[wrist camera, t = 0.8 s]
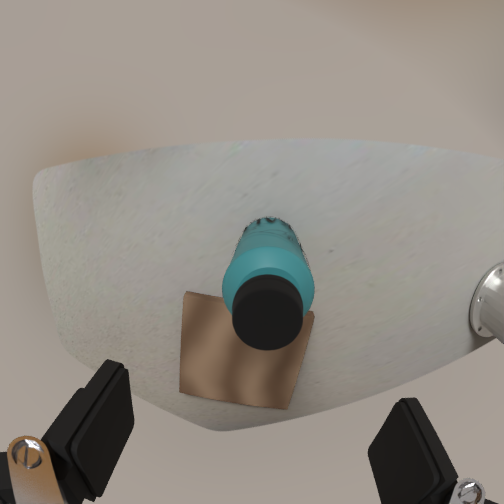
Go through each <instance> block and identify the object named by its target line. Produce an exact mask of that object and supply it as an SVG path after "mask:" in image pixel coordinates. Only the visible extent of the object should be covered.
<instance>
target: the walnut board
mask: <svg viewBox="0 0 504 504" xmlns="http://www.w3.org/2000/svg"><path fill="white" fill-rule="evenodd" d="M313 321H314V313H313V311H308V312H307V313H306V315H305V316H304V317H303V325H302V328H301V330H300V333H299V334H298V336H297V337H296V338H295V340H294V341H293V342H291V343H290V344H289V345H287V346H285V347H283V348H280V349H277V350H271V351H264V350H258V349H255V348H252V347H250V346H248V345H247V344H245V343H244V342H243V341H242V340H241V339H240V338H239V337H238V336H237V334H236V333H235V330H234V328H233V324H232V315H231V313H230V312H229V310H228V309H227V307H226V305H225V302H224V299H223V298H221V297H216V296H210V295H204V294H199V293H193V292H188V291H187V292H186V293H185V295H184V298H183V314H182V332H181V354H180V388H179V392H180V393H185V394H189V395H194V396H199V397H204V398H209V399H215V400H220V401H226V402H232V403H239V404H246V405H253V406H260V407H269V408H278V409H288V406H289V403H290V399H291V396H292V393H293V390H294V387H295V384H296V380H297V377H298V374H299V371H300V367H301V364H302V360H303V357H304V354H305V350H306V347H307V343H308V339H309V336H310V332H311V328H312V325H313Z"/></svg>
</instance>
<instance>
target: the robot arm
mask: <svg viewBox="0 0 504 504" xmlns="http://www.w3.org/2000/svg"><path fill="white" fill-rule="evenodd" d="M470 322H471V326H472V328H473V330H474V331H475V332H476V333H477V334H478V335H480V336H482V337H491V336H495V337H496V338H497V339H498V340H500V341H501V342H502V343H503V344H504V263H500V264H498V265H496V266H495V267H493V268H492V269H491V270H490V271H489V272H488V273H487V274H486V275H485V276H484V277H483V279H482V281H481V282H480V284H479V285H478V287H477V289H476V291H475V294H474V297H473V300H472V303H471V309H470ZM133 426H134V414H133V407H132V399H131V391H130V382H129V372H128V369H125V368H124V365H123V364H122V363H119V362H115V361H112V360H109V359H107V360H106V361H105V362H104V363H103V364H102V365H101V367H100V368H99V369H98V371H97V372H96V373H95V375H94V376H93V377H92V379H91V380H90V381H89V383H88V384H87V385H86V387H85V388H80V389H78V390H77V391H76V393H75V394H74V395H73V396H72V398H71V399H70V400H69V402H68V403H67V404H66V406H65V407H64V408H63V410H62V411H61V413H60V414H59V415H58V417H57V418H56V419H55V421H54V422H53V423H52V425H51V426H50V428H49V429H48V430H47V432H46V433H45V435H44V436H43V437H42V439H41V440H39V439H38V438H35V437H32V436H21V437H18V438H16V439H14V440H13V441H12V442H11V443H10V444H9V447H8V449H7V452H0V504H82V502H83V500H84V498H85V499H88V500H90V501H92V502H94V501H95V499H96V497H101V496H102V494H103V493H104V490H105V488H106V486H107V484H108V481H109V479H110V477H111V475H112V473H113V470H114V468H115V466H116V464H117V461H118V459H119V457H120V455H121V453H122V451H123V449H124V446H125V444H126V442H127V440H128V438H129V436H130V434H131V432H132V429H133ZM368 457H369V461H370V464H371V468H372V471H373V475H374V478H375V482H376V485H377V489H378V493H379V496H380V500H381V504H498V503H495V502H492V501H490V500H487V499H485V491H484V488H483V486H482V484H480V483H479V482H478V481H476V480H474V479H470V478H466V479H463V480H461V481H459V482H457V480H456V479H457V478H458V475H457V473H456V471H455V469H454V467H453V465H452V463H451V461H450V459H449V457H448V455H447V453H446V451H445V449H444V447H443V445H442V443H441V441H440V439H439V437H438V436H437V433H436V432H435V430H434V428H433V426H432V424H431V422H430V421H429V419H428V417H427V415H426V413H425V412H424V410H423V408H422V406H421V404H420V403H419V401H418V399H417V398H401V399H400V400H399V402H397V403H395V405H394V406H393V408H392V410H391V412H390V414H389V415H388V417H387V419H386V421H385V422H384V424H383V426H382V428H381V429H380V431H379V432H378V434H377V435H376V437H375V439H374V440H373V442H372V444H371V445H370V446H369V449H368Z"/></svg>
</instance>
